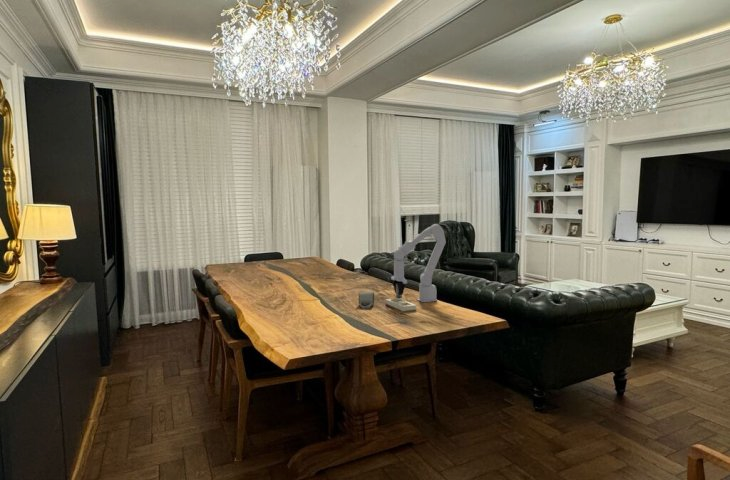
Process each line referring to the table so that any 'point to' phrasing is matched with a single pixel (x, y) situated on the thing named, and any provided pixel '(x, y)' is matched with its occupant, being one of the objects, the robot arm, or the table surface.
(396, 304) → the board
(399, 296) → the pin
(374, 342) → the table surface
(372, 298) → the ceramic mug
